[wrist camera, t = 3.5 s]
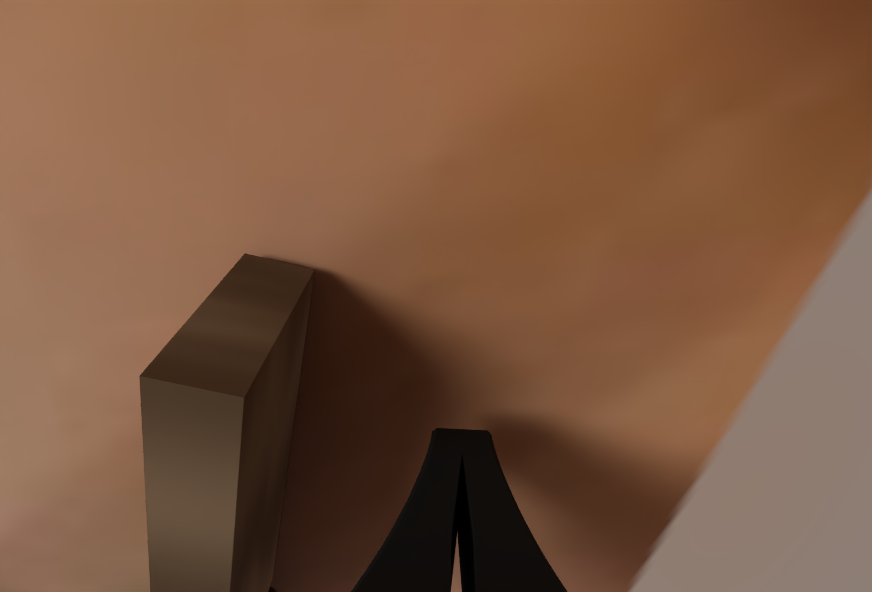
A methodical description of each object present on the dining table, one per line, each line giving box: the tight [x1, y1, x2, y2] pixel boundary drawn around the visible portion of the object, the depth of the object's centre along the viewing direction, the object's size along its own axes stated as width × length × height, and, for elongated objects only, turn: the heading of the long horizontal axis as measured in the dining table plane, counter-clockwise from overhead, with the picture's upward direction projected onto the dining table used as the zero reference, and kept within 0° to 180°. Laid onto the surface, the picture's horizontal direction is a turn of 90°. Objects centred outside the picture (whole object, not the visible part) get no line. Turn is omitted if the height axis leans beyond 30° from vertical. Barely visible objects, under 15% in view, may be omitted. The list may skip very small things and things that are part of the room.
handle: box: [140, 254, 315, 592], centre depth 13 cm, size 13×2×5 cm, turn 167°
